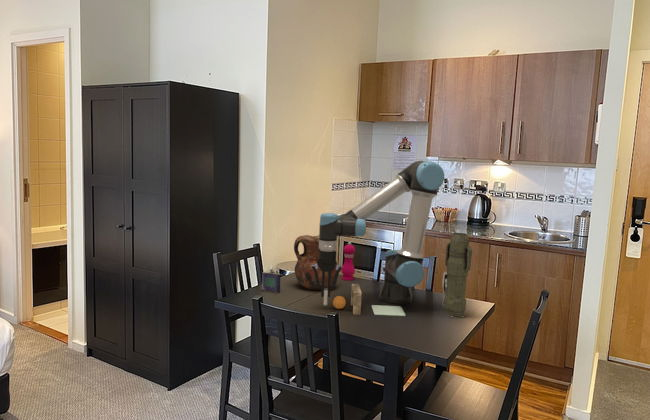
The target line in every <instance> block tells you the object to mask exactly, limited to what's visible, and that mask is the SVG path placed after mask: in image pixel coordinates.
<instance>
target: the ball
mask: <svg viewBox="0 0 650 420" xmlns="http://www.w3.org/2000/svg"><path fill="white" fill-rule="evenodd" d="M346 304H347V302H346V299H345V298H344V296H341V295H337V296H335V297H334V298H333V300H332V306H333V307H334V308H335V309H337V310H341V309H344V307H345V306H346Z"/></svg>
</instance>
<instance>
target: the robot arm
mask: <svg viewBox="0 0 650 420" xmlns="http://www.w3.org/2000/svg"><path fill="white" fill-rule="evenodd" d="M444 181H445V172H444V170H443V167H442V166H441V165H440V164H438V163H436V162H435V161H431V160H430V161H429V160H418V161H414V162H412V163H411V164H409V165H408V166H406V167H405V168H404V169H402V170H401V171H399V172H398V173H397V174H396V175H395V178H394V179H393V180H391V181H390V182H388V183H387V184H385V185H384V186H383V187H381V188H380V189H378V190H376V191H375V192H374V193H372V194H371V195H369V196H368V197H367V198H365V199H364V200H363V201H361V202H359V203H358V204H357V205H356V206H354V207H352V208H351V209H350V210H348V211H347V212H346V213H342V214H340V215H338V214H337V213H335V212H334V213H333V212H332V213H331V212H324V213H321V214H320V216H319V218H320V219H319V228H318V230H319V234H318V235H319V249H320V250H319V255H318V261H317V264H315V265H312V269H313V270H314V273H315V278H316V283H317V287H318V288H320V289H321V290H320V292H321V295H320V296H321V298H323V306H327V305H328V298H330V297H331V291H332V289H333V290H334V289H335V288H336V286H337V285H336V284H337V282H338V277H339V275H340V273H341V269H342V267H343V266H342V265H339V264H338V262H337V249H338V246H337V244H338V237H356V238H358V237H364V236H365V235H366V231H367V224H366V220H367V219H369V218H370V217H371V216H373V215H374V214H376V213H377V212H379V211H380V210H381V209H383V208H384V207H386V206H387V205H389V204H390V203H392V202H393V201H395V200H396V199H397V198H399V197H400V196H402V195H403V194H405V193H411V194H412V196H411V200H410V201H411V202H410V205H409V210H408V216H407V220H406V225H405V229H404V233H403V234H404V235H403V238H402V239H403V240H402V244H401V248H400V249H389V250H386V253H385V256H384V274H383V275H384V276H383V282H382V283H383V284H382V286H381V289H380V291H379V296H378V299H379V300H381V302H385V303H388V304H390V303H391V304H397V305H400V304H401V305H403V304H405V305H406V304H411V303H412V302H413V294H412V290H411V289H412V288H411V287H415V286H418V285H420V284H421V282H422V281H423V280H424V277H425V269H424V266H423V265H424V264H423V263H424V260H425V259H424V258H425V257H424V255H423V254H422V253H423V251H422V250H423V247H424V242H425V236H426V231H427V227H428V221H429V217H430V211H431V207H432V202H433V199H434V198H435V197H437V196H438V192H439V188H440V187H441V186H442V185H443V184H444ZM317 266H319V268H320V269H321V271H322V285H320V282H319V277H318V272H317V269H318V267H317ZM335 267H336V273H335V277H334V280H333V283H332V285H331V271H333V269H334V268H335ZM325 272H328V288H327V289H324V286H325Z"/></svg>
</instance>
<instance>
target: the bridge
mask: <svg viewBox="0 0 650 420" xmlns="http://www.w3.org/2000/svg"><path fill="white" fill-rule="evenodd" d="M350 292H351V293H350V306H352V315H356V316H357V315H359V316H360V315H361V311H362V309H361V307H362V294H363V293H362V290H361V287H360V284H359V283H352V284H351V291H350Z"/></svg>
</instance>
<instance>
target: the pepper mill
mask: <svg viewBox="0 0 650 420" xmlns="http://www.w3.org/2000/svg"><path fill="white" fill-rule="evenodd" d="M343 252H344V262H343V265H342V266H341V267H342V269H341V271H340V273H341V274H342V275H341V279H342V280H343V281H347V280H348V281H349V282H350V281H353V280H354V275H355V273H356V270H355V266H354V262H353V258H354V255H355V254H354V253H355V252H356V247H355V246H354V245H353V244H352V242H351V241H348V243H347V244H346V245H345V246H344V247H343ZM348 281H347V282H348Z"/></svg>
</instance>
